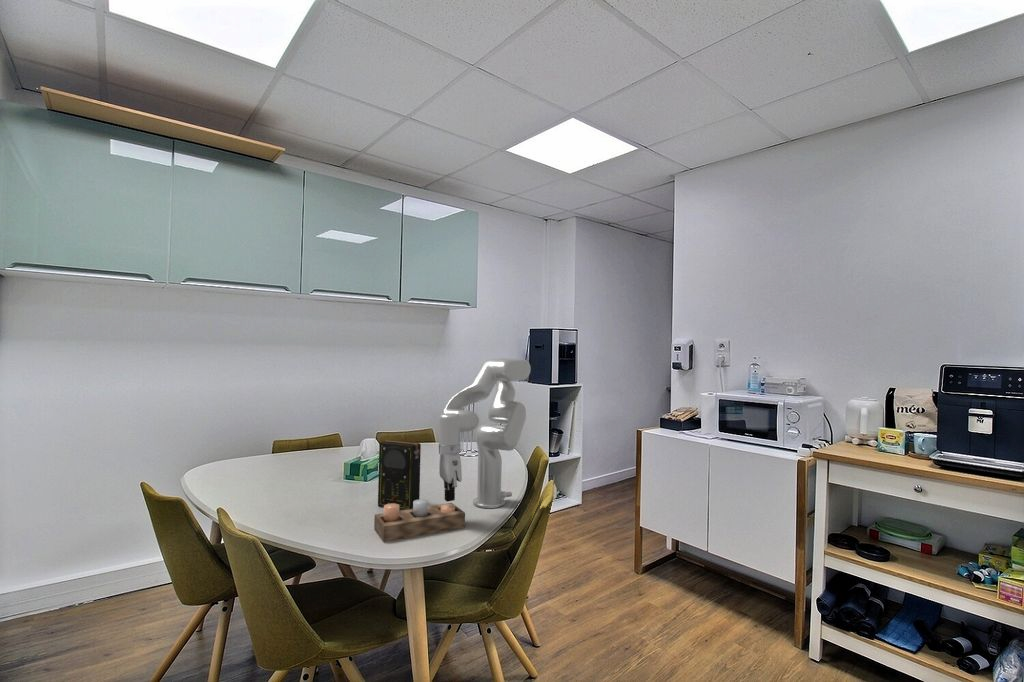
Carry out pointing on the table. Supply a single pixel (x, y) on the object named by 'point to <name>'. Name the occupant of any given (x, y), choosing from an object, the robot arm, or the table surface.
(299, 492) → the table surface
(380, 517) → the wooden candle holder
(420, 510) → the button middle
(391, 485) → the voltmeter
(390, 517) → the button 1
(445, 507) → the button
